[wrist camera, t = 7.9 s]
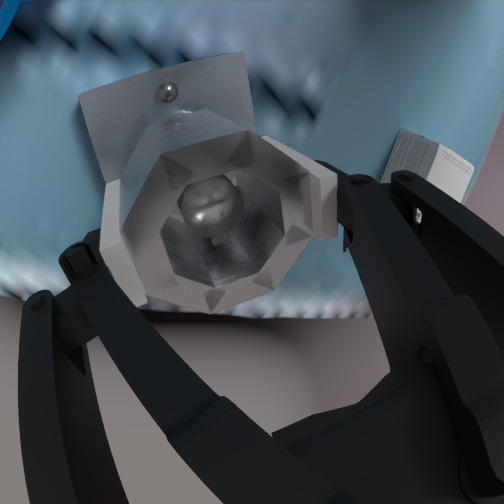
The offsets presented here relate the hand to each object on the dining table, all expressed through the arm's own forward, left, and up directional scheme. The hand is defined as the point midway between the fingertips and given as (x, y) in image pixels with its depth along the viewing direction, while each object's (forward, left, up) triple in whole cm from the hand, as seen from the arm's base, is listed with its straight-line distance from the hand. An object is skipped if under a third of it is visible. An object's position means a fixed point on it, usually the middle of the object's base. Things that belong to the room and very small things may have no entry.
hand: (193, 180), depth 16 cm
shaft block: (0, 0, -5) cm, 5 cm away
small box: (+7, +21, -5) cm, 23 cm away
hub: (0, 0, 0) cm, 0 cm away
